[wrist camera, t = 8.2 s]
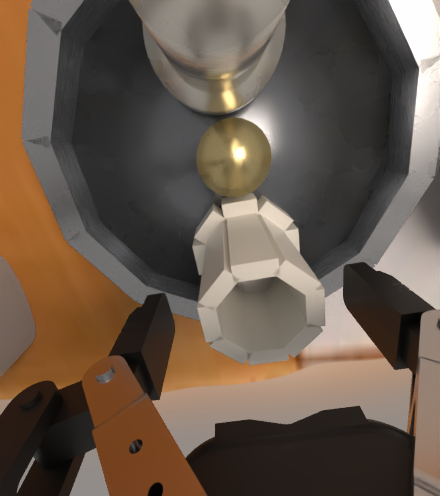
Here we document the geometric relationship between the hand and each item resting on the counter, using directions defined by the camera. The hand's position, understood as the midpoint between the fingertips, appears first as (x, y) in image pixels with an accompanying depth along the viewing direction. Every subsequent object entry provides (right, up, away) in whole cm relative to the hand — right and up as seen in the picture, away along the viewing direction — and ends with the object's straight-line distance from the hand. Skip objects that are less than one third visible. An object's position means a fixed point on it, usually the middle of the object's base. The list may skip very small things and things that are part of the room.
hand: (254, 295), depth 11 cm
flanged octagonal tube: (0, +3, +6) cm, 6 cm away
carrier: (-1, +8, +5) cm, 9 cm away
